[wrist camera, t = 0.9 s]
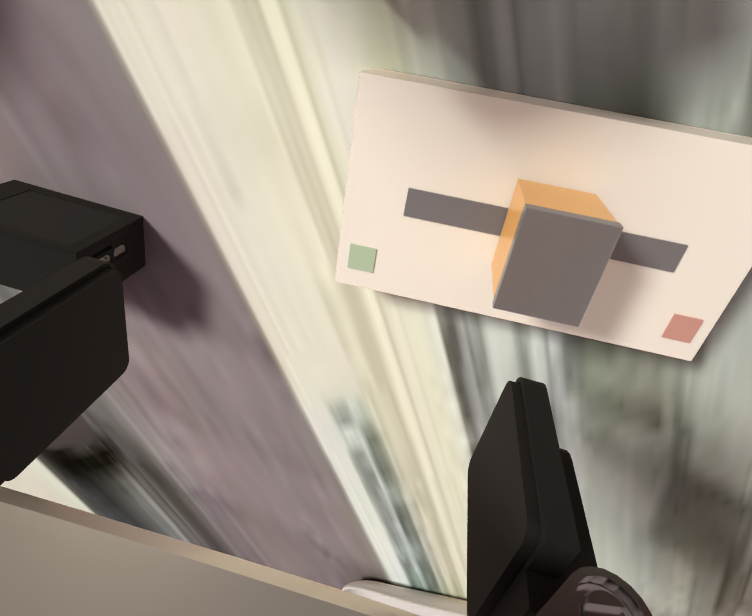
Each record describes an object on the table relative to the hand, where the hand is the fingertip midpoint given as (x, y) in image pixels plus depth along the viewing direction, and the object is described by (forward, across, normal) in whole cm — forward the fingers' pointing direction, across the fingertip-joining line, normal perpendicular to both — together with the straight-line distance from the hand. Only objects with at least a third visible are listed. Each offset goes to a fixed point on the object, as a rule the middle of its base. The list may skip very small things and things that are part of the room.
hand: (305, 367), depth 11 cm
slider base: (+21, -8, +1) cm, 23 cm away
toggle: (+17, -8, +1) cm, 19 cm away
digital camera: (+22, +23, +11) cm, 34 cm away
